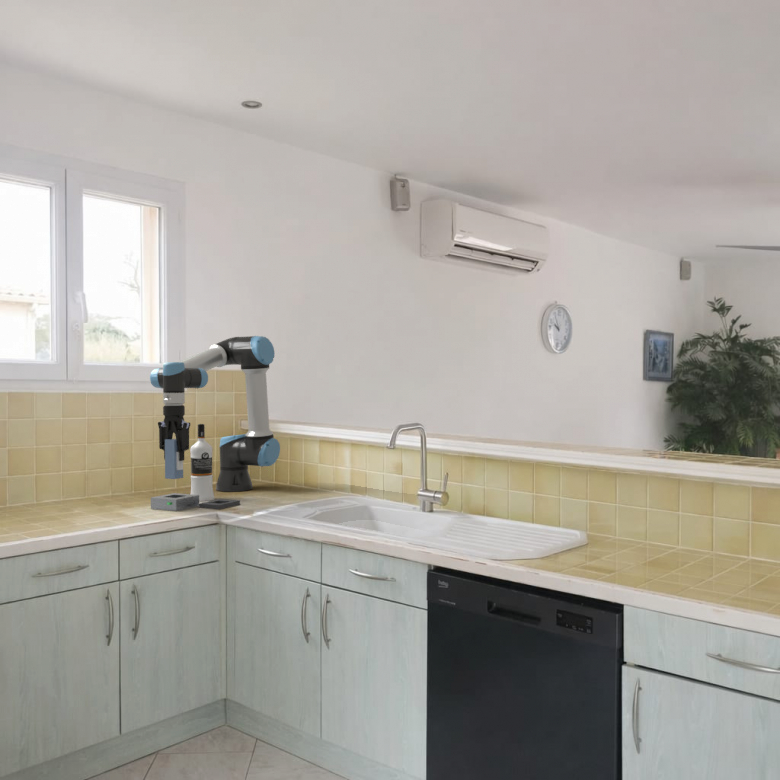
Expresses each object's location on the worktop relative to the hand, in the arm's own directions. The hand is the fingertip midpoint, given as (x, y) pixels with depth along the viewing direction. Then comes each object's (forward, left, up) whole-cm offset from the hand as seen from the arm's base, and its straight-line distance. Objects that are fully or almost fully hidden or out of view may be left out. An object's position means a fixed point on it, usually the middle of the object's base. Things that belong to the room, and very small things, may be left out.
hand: (174, 469), depth 290 cm
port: (0, 0, -15) cm, 15 cm away
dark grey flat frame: (-9, +13, -15) cm, 22 cm away
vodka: (-19, -4, -15) cm, 25 cm away
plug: (0, 0, -3) cm, 3 cm away
